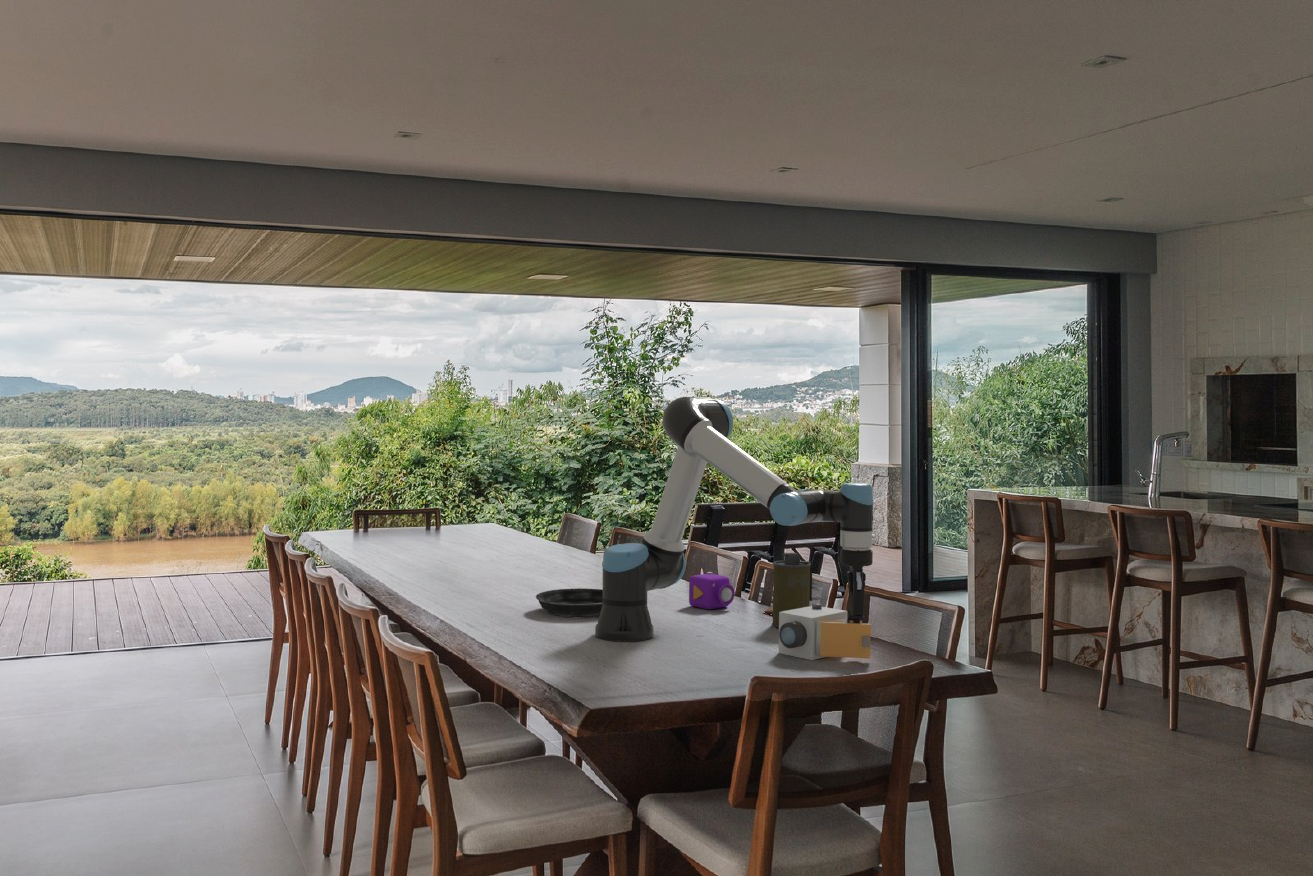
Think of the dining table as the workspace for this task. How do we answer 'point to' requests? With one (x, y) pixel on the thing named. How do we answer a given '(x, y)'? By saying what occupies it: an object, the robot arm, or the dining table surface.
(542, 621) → the dining table surface
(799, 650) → the camera body
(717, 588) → the toy camera
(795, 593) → the canister
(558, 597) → the frying pan
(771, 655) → the dining table surface
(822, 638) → the battery door
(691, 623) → the dining table surface
